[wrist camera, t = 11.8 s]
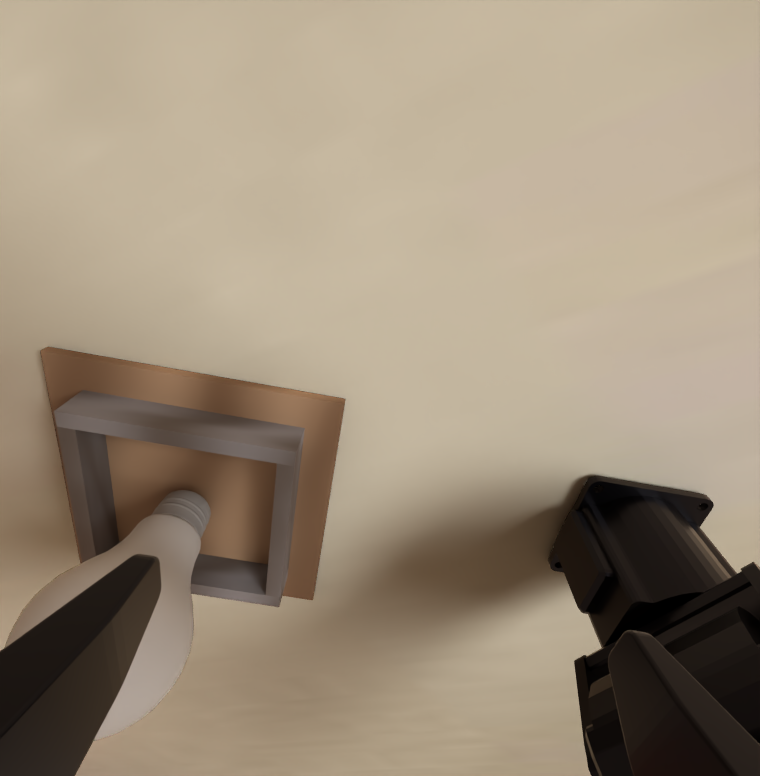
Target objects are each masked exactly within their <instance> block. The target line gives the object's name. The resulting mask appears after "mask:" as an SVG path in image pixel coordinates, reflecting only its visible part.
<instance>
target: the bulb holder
mask: <svg viewBox="0 0 760 776" xmlns="http://www.w3.org/2000/svg"><path fill="white" fill-rule="evenodd" d="M41 357H42V362H43V367H44V372H45V378H46V383H47V388H48V394H49V399H50V404H51V409H52V415H53V420H54V425H55V431H56V436H57V441H58V446H59V452H60V457H61V462H62V468H63V473H64V478H65V483H66V489H67V494H68V499H69V505H70V510H71V515H72V520H73V526H74V531H75V536H76V542H77V547H78V552H79V557H80V563H83V562H85V561H87V560H89V559H91V558H93V557H95V556H98V555H100V554H102V553H104V552H107V551H108V550H110V549H111V548H113V547H114V546H116V545H117V544H119V543H120V542H121V541H122V540H124V539H125V538H126V537H127V536H128V535H129V534H130V533H131V532H132V530H133V529H134V528H135V527H136V526H137V524H138V523H139V522H140V521H142V520H143V519H144V518H146V517H148V516H151V514H152V513H153V512H154V510H155V508H157V507H158V505H159V504H160V502H161V501H163V499H164V498H165V497H166V496H167V495H168V494H169V493H171V492H174V491H178V490H188V491H192V492H195V493H197V494H199V495H200V496H202V497H203V498H204V499H205V500H206V501H207V503H208V505H209V507H210V510H211V516H210V519H209V522H208V524H207V526H206V529H205V531H204V533H203V535H202V537H201V539H200V540H201V548H200V551H199V554H198V556H197V559H196V561H195V564H194V568H193V571H192V575H191V586H190V589H191V594H197V595H204V596H210V597H217V598H223V599H230V600H236V601H243V602H249V603H256V604H262V605H269V606H275V607H279V606H280V602H281V598H282V596H289V597H295V598H302V599H308V600H313V596H314V591H315V584H316V578H317V572H318V566H319V560H320V553H321V547H322V541H323V535H324V529H325V523H326V516H327V510H328V504H329V498H330V492H331V485H332V479H333V473H334V467H335V461H336V454H337V448H338V442H339V436H340V430H341V423H342V417H343V411H344V405H345V399H343V398H337V397H331V396H326V395H320V394H314V393H308V392H303V391H297V390H291V389H286V388H280V387H274V386H269V385H263V384H257V383H251V382H246V381H240V380H234V379H229V378H223V377H217V376H212V375H206V374H200V373H194V372H189V371H183V370H177V369H172V368H166V367H160V366H155V365H149V364H143V363H138V362H132V361H126V360H120V359H115V358H109V357H103V356H98V355H92V354H86V353H81V352H75V351H69V350H63V349H58V348H52V347H47V348H45V349H43V350H41Z"/></svg>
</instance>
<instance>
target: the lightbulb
mask: <svg viewBox="0 0 760 776" xmlns="http://www.w3.org/2000/svg"><path fill="white" fill-rule="evenodd" d="M210 516H211V510H210V507H209V505H208V503H207V501H206V500H205V499H204V498H203V497H202V496H200V495H199V494H197V493H195V492H192V491H188V490H178V491H174V492H171V493H169V494H168V495H167V496H166V497H165V498H164V499H163V501H161V502H160V504H159V505H158V507H157V508H155V510H154V512H153V513H152V514H151V516H148V517H146V518H144V519H143V520H142V521H140V522H139V523H138V524H137V526H136V527H135V528H134V529H133V530H132V532H131V533H130V534H129V535H128V536H127V537H126V538H125V539H124V540H122V541H121V542H120V543H119V544H117V545H116V546H114V547H113V548H111V549H110V550H108V551H107V552H104V553H102V554H100V555H98V556H95V557H93V558H91V559H89V560H87V561H85V562H83V563H81V564H79V565H77V566H75V567H74V568H72V569H70V570H68V571H66V572H64V573H62V574H60V575H58V576H57V577H56V578H55V579H53V580H52V581H51V582H50V583H49V584H47V585H46V586H45V587H44V588H42V589H41V590H40V591H39V592H38V593H37V594H36V595H35V596H34V597H33V598H32V599H31V600H30V602H29V603H28V604H27V605H26V606H25V608H24V609H23V610H22V612H21V614H20V616H19V617H18V619H17V621H16V623H15V624H14V626H13V628H12V630H11V632H10V634H9V637H8V640H7V642H6V645H5V647H7V646H8V645H10V644H11V643H12V642H14V641H15V640H16V639H18V638H19V637H21V636H22V635H23V634H25V633H26V632H27V631H29V630H30V629H32V628H33V627H34V626H36V625H37V624H39V623H40V622H41V621H43V620H44V619H45V618H47V617H48V616H50V615H51V614H52V613H54V612H55V611H56V610H58V609H59V608H61V607H62V606H63V605H65V604H66V603H67V602H69V601H70V600H72V599H73V598H74V597H76V596H77V595H79V594H80V593H81V592H83V591H84V590H85V589H87V588H88V587H90V586H91V585H92V584H94V583H95V582H96V581H98V580H99V579H101V578H102V577H103V576H105V575H106V574H108V573H109V572H110V571H112V570H113V569H114V568H116V567H117V566H119V565H120V564H121V563H123V562H124V561H125V560H127V559H128V558H130V557H131V556H133V555H135V554H145V555H152V556H156V557H158V559H159V561H160V571H161V593H160V596H159V599H158V602H157V604H156V606H155V609H154V611H153V614H152V616H151V619H150V621H149V623H148V626H147V628H146V631H145V633H144V635H143V638H142V640H141V643H140V645H139V647H138V650H137V652H136V655H135V657H134V659H133V662H132V664H131V667H130V669H129V671H128V674H127V676H126V678H125V680H124V683H123V685H122V687H121V689H120V691H119V693H118V695H117V697H116V699H115V701H114V703H113V705H112V707H111V709H110V710H109V712H108V714H107V716H106V718H105V720H104V722H103V724H102V725H101V727H100V729H99V731H98V733H97V735H96V737H95V739H94V740H93V741H96V740H99V739H102V738H105V737H108V736H111V735H114V734H117V733H119V732H121V731H122V730H124V729H126V728H127V727H129V726H131V725H133V724H134V723H136V722H137V721H139V720H140V719H142V718H143V717H144V716H145V715H147V714H148V713H149V712H150V711H152V710H153V709H154V708H155V707H156V706H157V705H158V704H159V702H160V701H161V700H162V699H163V698H164V697H165V696H166V694H167V693H168V692H169V691H170V690H171V688H172V687H173V685H174V684H175V682H176V681H177V679H178V678H179V676H180V674H181V672H182V670H183V667H184V665H185V663H186V660H187V658H188V656H189V653H190V649H191V644H192V639H193V630H194V622H193V603H192V596H191V589H190V586H191V575H192V571H193V568H194V564H195V561H196V559H197V556H198V554H199V551H200V548H201V540H200V539H201V537H202V535H203V533H204V531H205V529H206V526H207V524H208V522H209V519H210Z"/></svg>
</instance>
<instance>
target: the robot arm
mask: <svg viewBox="0 0 760 776" xmlns="http://www.w3.org/2000/svg"><path fill="white" fill-rule="evenodd" d="M597 485H600V486H599V487H597V488H594V487H595V486H597ZM713 506H714V505H713V502H712V501H711V500H710V499H709V498H708V497H707V495H704V494H699V493H694V492H688V491H682V490H676V489H670V488H665V487H659V486H653V485H647V484H641V483H636V482H630V481H624V480H618V479H612V478H607V477H601V476H594V477H591V478H590V479H588V480H587V482H586V483H585V485H584V487H583V489H582V491H581V493H580V495H579V497H578V499H577V501H576V503H575V505H574V507H573V509H572V511H571V512H570V513H569V514H568V516H567V518H566V520H565V522H564V524H563V526H562V528H561V531H560V533H559V535H558V537H557V539H556V541H555V543H554V548H553V550H552V552H551V554H550V556H549V558H548V562H549V564H550V567H551V569H552V570H554V571H559V572H564V574H565V576H566V579H567V581H568V584H569V586H570V589H571V591H572V594H573V596H574V599H575V602H576V604H577V607H578V608H579V610H580V611H581V612H582V613H586V614H588V615H589V617H590V620H591V622H592V625H593V627H594V630H595V632H596V635H597V637H598V639H599V642H600V644H601V647H602V648H601V649H599V650H598V651H596V652H594V653H592V654H590V655H589V656H586V655H584V656H582V657H580V658H578V659H576V660H575V661H574V664H575V672H576V680H577V688H578V697H579V705H580V713H581V721H582V730H583V738H584V746H585V751H586V756H587V762H588V768H589V771H590V774H591V775H592V776H760V567H759V566H758V565H757V564H755V563H754V562H752V563H750V564H749V565H747V566H745V567H743V568H741V570H742V572H740V573H738V574H737V573H736V572H735V571H734V569H733V568H732V567H731V566H730V564H729V563H728V562H727V561H726V559H725V558H724V557H723V556H722V554H721V553H720V552H719V551H718V550H717V548H716V547H715V546H714V545H713V543H712V542H711V541H710V540H709V538H708V537H707V536H706V535H705V533H704V532H703V531H702V530H701V529H700V526H701V524H702V523H703V521H704V520H705V518H706V517H707V516H708V514H709V513H710V511H711V510H712V508H713ZM160 593H161V571H160V561H159V559H158V557H156V556H152V555H145V554H135V555H133V556H131V557H130V558H128V559H127V560H125V561H124V562H123V563H121V564H120V565H119V566H117V567H116V568H114V569H113V570H112V571H110V572H109V573H108V574H106V575H105V576H103V577H102V578H101V579H99V580H98V581H96V582H95V583H94V584H92V585H91V586H90V587H88V588H87V589H85V590H84V591H83V592H81V593H80V594H79V595H77V596H76V597H74V598H73V599H72V600H70V601H69V602H67V603H66V604H65V605H63V606H62V607H61V608H59V609H58V610H56V611H55V612H54V613H52V614H51V615H50V616H48V617H47V618H45V619H44V620H43V621H41V622H40V623H39V624H37V625H36V626H34V627H33V628H32V629H30V630H29V631H27V632H26V633H25V634H23V635H22V636H21V637H19V638H18V639H16V640H15V641H14V642H12V643H11V644H10V645H8V646H7V647H5V648H4V649H3V650H1V651H0V776H75V774H76V772H77V770H78V769H79V767H80V765H81V763H82V761H83V759H84V757H85V755H86V754H87V752H88V750H89V748H90V746H91V744H92V742H93V740H94V739H95V737H96V735H97V733H98V731H99V729H100V727H101V725H102V724H103V722H104V720H105V718H106V716H107V714H108V712H109V710H110V709H111V707H112V705H113V703H114V701H115V699H116V697H117V695H118V693H119V691H120V689H121V687H122V685H123V683H124V680H125V678H126V676H127V674H128V671H129V669H130V667H131V664H132V662H133V659H134V657H135V655H136V652H137V650H138V647H139V645H140V643H141V640H142V638H143V635H144V633H145V631H146V628H147V626H148V623H149V621H150V619H151V616H152V614H153V611H154V609H155V606H156V604H157V602H158V599H159V596H160Z"/></svg>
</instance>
